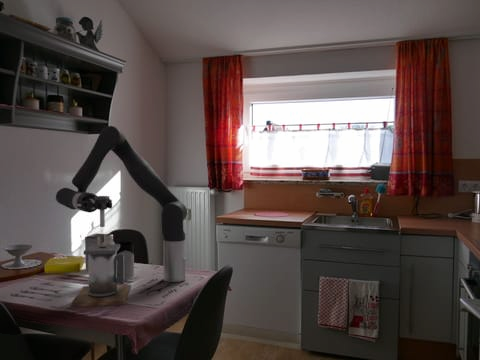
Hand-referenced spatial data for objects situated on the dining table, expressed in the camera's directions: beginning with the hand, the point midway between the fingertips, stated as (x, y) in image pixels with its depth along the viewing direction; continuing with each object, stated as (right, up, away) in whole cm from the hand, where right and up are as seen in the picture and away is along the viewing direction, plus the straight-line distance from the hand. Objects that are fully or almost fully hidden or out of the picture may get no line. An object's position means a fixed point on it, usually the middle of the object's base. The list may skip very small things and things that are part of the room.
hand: (105, 205), depth 148 cm
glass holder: (-2, -33, +31) cm, 45 cm away
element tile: (-33, -33, +42) cm, 63 cm away
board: (-2, -34, +4) cm, 35 cm away
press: (-1, -33, +4) cm, 33 cm away
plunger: (-2, -8, +2) cm, 9 cm away
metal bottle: (-6, -34, +22) cm, 40 cm away
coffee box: (-18, -32, +41) cm, 55 cm away
